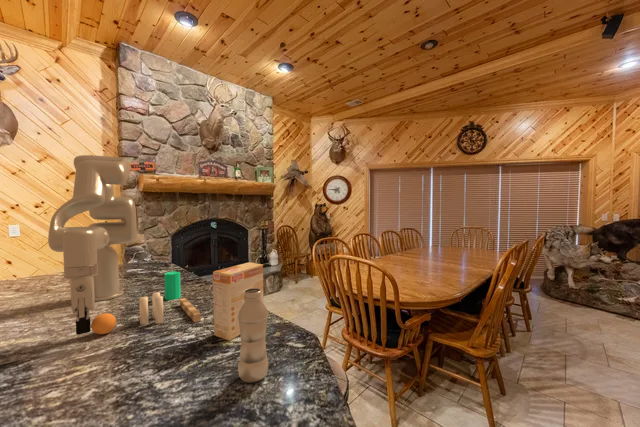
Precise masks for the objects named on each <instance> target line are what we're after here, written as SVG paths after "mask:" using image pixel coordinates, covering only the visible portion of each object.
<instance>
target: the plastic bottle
mask: <svg viewBox="0 0 640 427" xmlns="http://www.w3.org/2000/svg"><path fill="white" fill-rule="evenodd" d="M261 298H262V296H261V289H258V288H251V289H247V290H245V291H244V300H245V303H244V304H243V305H242V307H241V309H240V310H239V314H238V320H239V327H240V335H239V336H240V351H239V359H238V365H237V366H238V367H237V371H238V372H237V373H238V376H239V378H240V380H242V381H243V382H244V383H249V384H251V383H257V382H260V381H262V380H263V379H264V378H265V377H266V375H267V373H268V371H269V360H268V355H267V346H266V344H267V343H266V337H267V336H266V333H267V324H268V317H269V316H268V315H269V312H268V308H267V307H266V305H265V304H263V303H262V301H261V300H260V299H261Z"/></svg>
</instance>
